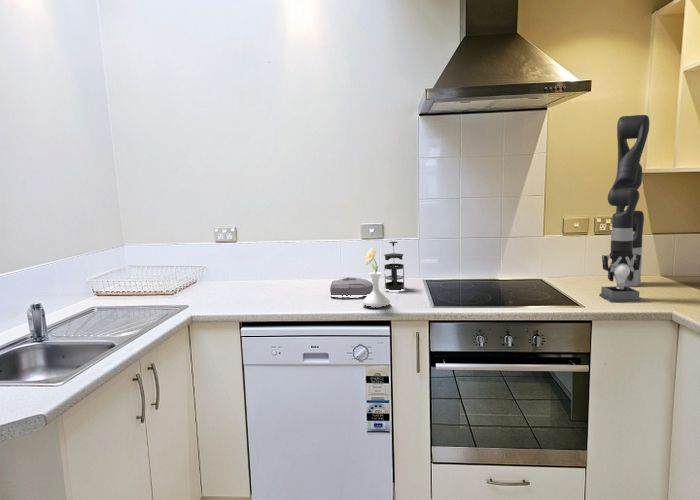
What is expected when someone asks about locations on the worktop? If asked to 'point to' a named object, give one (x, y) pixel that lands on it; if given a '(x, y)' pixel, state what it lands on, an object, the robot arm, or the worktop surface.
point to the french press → (394, 271)
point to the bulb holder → (619, 294)
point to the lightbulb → (621, 275)
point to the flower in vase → (374, 284)
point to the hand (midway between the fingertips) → (620, 280)
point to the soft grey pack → (351, 287)
